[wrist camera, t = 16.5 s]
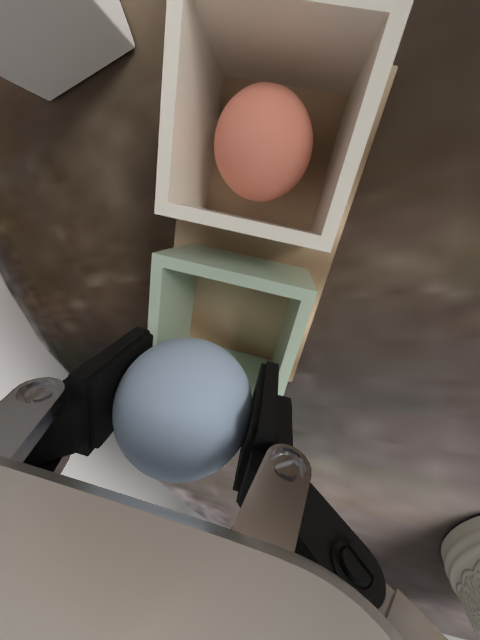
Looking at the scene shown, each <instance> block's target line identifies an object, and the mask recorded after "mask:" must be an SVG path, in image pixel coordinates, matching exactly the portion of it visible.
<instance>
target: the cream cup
mask: <svg viewBox="0 0 480 640" xmlns="http://www.w3.org/2000/svg"><path fill="white" fill-rule="evenodd" d="M413 1H414V0H167V5H166V22H165V39H164V56H163V73H162V90H161V107H160V124H159V141H158V158H157V176H156V193H155V210H154V214H158V215H162V216H167V217H171V218H176V219H180V220H185V221H189V222H194V223H198V224H203V225H207V226H212V227H216V228H221V229H225V230H230V231H234V232H239V233H243V234H248V235H252V236H257V237H261V238H266V239H270V240H275V241H279V242H284V243H288V244H293V245H297V246H302V247H306V248H311V249H315V250H320V251H324V252H329V253H331V250H332V247H333V244H334V241H335V238H336V235H337V232H338V229H339V225H340V222H341V219H342V216H343V213H344V210H345V207H346V204H347V201H348V198H349V195H350V192H351V189H352V186H353V183H354V180H355V177H356V174H357V171H358V168H359V165H360V162H361V159H362V156H363V153H364V150H365V147H366V144H367V141H368V138H369V135H370V132H371V129H372V125H373V122H374V119H375V116H376V113H377V110H378V107H379V104H380V101H381V98H382V95H383V92H384V89H385V86H386V83H387V80H388V77H389V74H390V71H391V68H392V65H393V62H394V59H395V56H396V53H397V50H398V47H399V44H400V41H401V38H402V35H403V32H404V29H405V26H406V22H407V19H408V16H409V13H410V10H411V7H412V4H413ZM224 75H228V76H234V77H239V78H245V79H251V80H257V81H263V82H271V83H276V84H281V85H287V86H292V87H298V88H304V89H310V90H316V91H322V92H328V93H334V94H340V95H345V96H348V99H347V103H346V106H345V110H344V113H343V117H342V120H341V124H340V127H339V131H338V134H337V137H336V141H335V144H334V148H333V151H332V155H331V158H330V162H329V165H328V169H327V172H326V176H325V179H324V183H323V186H322V189H321V193H320V196H319V200H318V203H317V207H316V210H315V214H314V217H313V221H312V224H311V228H310V231H309V230H304V229H300V228H295V227H290V226H286V225H281V224H277V223H272V222H267V221H263V220H258V219H253V218H249V217H244V216H240V215H235V214H230V213H226V212H221V211H216V210H212V209H207V208H206V205H207V198H208V190H209V183H210V175H211V167H212V160H213V152H214V137H215V131H216V126H217V122H218V114H219V107H220V99H221V92H222V84H223V77H224Z"/></svg>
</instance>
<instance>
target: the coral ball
mask: <svg viewBox="0 0 480 640" xmlns="http://www.w3.org/2000/svg"><path fill="white" fill-rule="evenodd" d="M312 148H313V130H312V124H311V120H310V117H309V114H308V112H307V109H306V108H305V106H304V104H303V103H302V101H301V100H300V99H299V98H298V96H297V95H296V94H295V93H293V92H292V91H291V90H290V89H288V88H286V87H285V86H282V85H280V84H276V83H271V82H261V83H256V84H252V85H250V86H247V87H245V88H244V89H242V90H241V91H239V92H238V93H237V94H236V95H234V96H233V97H232V99H231V100H230V101H229V102H228V103H227V105H226V106H225V108H224V109H223V111H222V113H221V115H220V118H219V120H218V123H217V126H216V131H215V137H214V152H215V159H216V163H217V167H218V169H219V172H220V174H221V176H222V178H223V179H224V181H225V182H226V184H227V185H228V186H229V187H230V188H231V189H232V190H233V191H234V192H235V193H236V194H238V195H240V196H241V197H243V198H245V199H248V200H251V201H257V202H265V201H271V200H274V199H277V198H279V197H282V196H283V195H285V194H286V193H288V192H289V191H290V190H292V189H293V188H294V187H295V186H296V185H297V183H298V182H299V181H300V179H301V178H302V176H303V175H304V173H305V171H306V169H307V167H308V164H309V161H310V158H311V154H312Z"/></svg>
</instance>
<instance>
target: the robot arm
mask: <svg viewBox="0 0 480 640" xmlns="http://www.w3.org/2000/svg"><path fill="white" fill-rule="evenodd" d="M151 347H153V335H152V334H150V331H149V330H147V329H143V328H139V327H136V328H134V329H133V330H131V331H130V332H129V333H127V334H126V335H124V336H123V337H121V338H120V339H119V340H117V341H116V342H114V343H113V344H112V345H110V346H109V347H107V348H106V349H104V350H103V351H102V352H100V353H99V354H97V355H96V356H95V357H93V358H92V359H90V360H89V361H87V362H86V363H85V364H83V365H82V366H80V367H79V368H78V369H76V370H75V371H73V372H72V373H70V374H69V375H68V377H67V378H66V379H65V380H63V381H61V380H59V379H56V378H51V377H50V378H49V377H48V378H37V379H33V380H29V381H26V382H24V383H22V384H20V385H19V386H17V387H16V388H15V389H13V390H12V391H11V392H10V393H9V394H8V395H7V396H6V397H5V398H4V399H2V400H1V401H0V640H448V639H447V638H446V637H445V636H444V635H443V634H442V633H441V632H440V631H439V630H438V629H437V628H436V627H435V626H434V625H433V624H432V623H431V622H430V621H429V620H428V619H427V618H426V617H425V616H424V614H423V613H422V612H421V611H420V610H419V609H418V608H417V607H416V606H415V605H414V604H413V603H412V602H411V601H410V600H409V599H408V598H407V597H406V596H405V595H404V594H403V593H402V592H401V591H400V590H399V589H397V590H396V591H394V590H393V589H392V588H391V587H390V586H389V585H388V584H387V583H386V582H385V579H384V575H383V572H382V570H381V568H380V566H379V564H378V562H377V560H376V558H375V557H374V556H373V554H372V553H371V552H370V550H369V549H368V548H367V547H366V546H365V544H364V543H363V542H362V541H361V540H360V539H359V538H358V536H357V535H356V534H355V533H354V532H353V531H352V530H351V528H350V527H349V526H348V525H347V524H346V523H345V522H344V520H343V519H342V518H341V517H340V516H339V515H338V514H337V512H336V511H335V510H334V509H333V508H332V507H331V506H330V504H329V503H328V502H327V501H326V500H325V499H324V498H323V496H322V495H321V494H320V493H319V492H318V491H317V489H316V488H315V487H314V486H313V485H312V484H311V483H310V480H311V466H310V463H309V461H308V460H307V458H306V456H305V455H304V454H303V453H302V452H301V451H299V450H298V449H296V448H295V447H293V435H292V404H291V398H288V397H285V396H281V395H278V381H279V364H277V363H273V362H269V361H267V362H266V364H264V363H261V366H260V370H259V374H258V377H257V381H256V385H255V389H254V392H253V396H252V400H253V405H252V411H251V416H250V420H249V424H248V428H247V432H246V436H245V439H244V442H243V443H242V445H241V450H240V455H239V460H238V465H237V470H236V475H235V480H234V486H233V490H235V491H238V496H237V501H236V502H237V503H238V505H239V506H240V511H239V513H238V515H237V517H236V519H235V521H234V524H233V526H232V528H231V529H228V528H225V527H222V526H219V525H216V524H213V523H210V522H207V521H204V520H201V519H198V518H195V517H191V516H188V515H185V514H182V513H179V512H176V511H173V510H170V509H167V508H164V507H161V506H158V505H154V504H151V503H148V502H145V501H142V500H139V499H136V498H133V497H129V496H126V495H123V494H120V493H117V492H114V491H110V490H108V489H104V488H101V487H98V486H95V485H92V484H89V483H86V482H82V481H79V480H76V479H73V478H70V477H67V476H64V475H60V474H61V472H62V470H63V469H64V467H65V465H66V463H67V462H68V460H69V457H70V455H71V454H74V453H79V454H82V455H85V456H89V454H90V453H91V452H92V451H93V450H94V448H99V447H100V446H101V445H102V444H103V443H104V442H105V440H106V439H107V438H108V437H109V436H110V434H111V433H112V432H113V431H114V428H113V422H112V409H113V402H114V397H115V393H116V390H117V388H118V385H119V383H120V381H121V378H122V377H123V375H124V374H125V372H126V371H127V369H128V368H129V366H130V365H131V364H132V363H133V362H134V361H135V360H136V359H137V358H138V357H139V356H140V355H141V354H143V353H144V352H145V351H147V350H148V349H150V348H151Z"/></svg>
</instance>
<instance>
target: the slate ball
mask: <svg viewBox="0 0 480 640" xmlns="http://www.w3.org/2000/svg"><path fill="white" fill-rule="evenodd" d="M252 405H253V400H252V392H251V387H250V384H249V381H248V378H247V376H246V374H245V372H244V370H243V368H242V367H241V365H240V364H239V363H238V361H237V360H236V359H235V358H234V357H233V356H232V355H231V354H230V353H229V352H228V351H226V350H225V349H224V348H222V347H220V346H219V345H217V344H214V343H212V342H210V341H207V340H203V339H198V338H177V339H172V340H168V341H165V342H162V343H159V344H157V345H155V346H153V347H151V348H150V349H148V350H147V351H145V352H144V353H143V354H141V355H140V356H139V357H138V358H137V359H136V360H135V361H134V362H133V363H132V364H131V365H130V366H129V368H128V369H127V371H126V372H125V374H124V375H123V377H122V378H121V381H120V383H119V385H118V388H117V390H116V393H115V397H114V402H113V409H112V422H113V428H114V433H115V437H116V440H117V442H118V444H119V447H120V449H121V450H122V452H123V454H124V455H125V457H126V458H127V459H128V460H129V461H130V462H131V463H132V464H133V465H134V466H135V467H136V468H137V469H138V470H140V471H141V472H142V473H144V474H146V475H148V476H150V477H152V478H154V479H157V480H161V481H165V482H172V483H183V482H190V481H195V480H199V479H201V478H204V477H206V476H208V475H211V474H212V473H214V472H216V471H217V470H219V469H220V468H222V467H223V466H224V465H225V464H226V463H227V462H228V461H229V460H230V459H231V458H232V457H233V456H234V455H235V454H236V453H237V451H238V450H239V448H240V447H241V445H242V443H243V442H244V439H245V436H246V432H247V428H248V424H249V420H250V416H251V411H252Z"/></svg>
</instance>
